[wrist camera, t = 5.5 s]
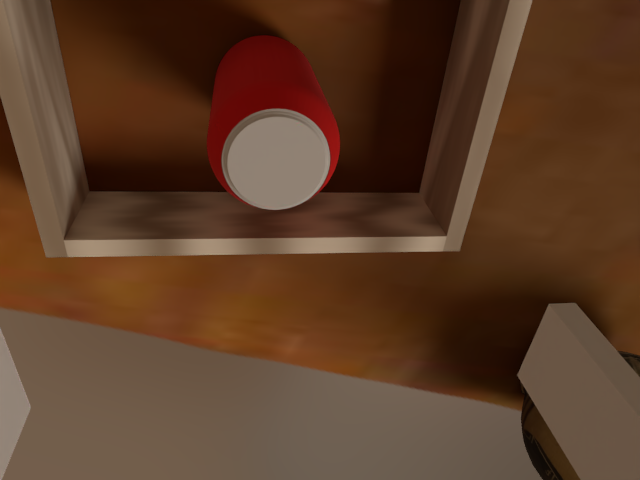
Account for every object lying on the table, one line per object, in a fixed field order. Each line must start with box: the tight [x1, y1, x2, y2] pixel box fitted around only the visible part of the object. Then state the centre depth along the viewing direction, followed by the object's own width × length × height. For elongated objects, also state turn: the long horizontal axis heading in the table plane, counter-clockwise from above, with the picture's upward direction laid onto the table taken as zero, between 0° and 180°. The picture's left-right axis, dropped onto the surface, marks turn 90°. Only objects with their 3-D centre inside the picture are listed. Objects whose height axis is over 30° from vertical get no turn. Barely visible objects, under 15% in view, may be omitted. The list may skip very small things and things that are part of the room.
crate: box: [0, 0, 532, 257], centre depth 28 cm, size 26×18×6 cm
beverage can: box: [207, 35, 340, 210], centre depth 26 cm, size 6×6×12 cm
